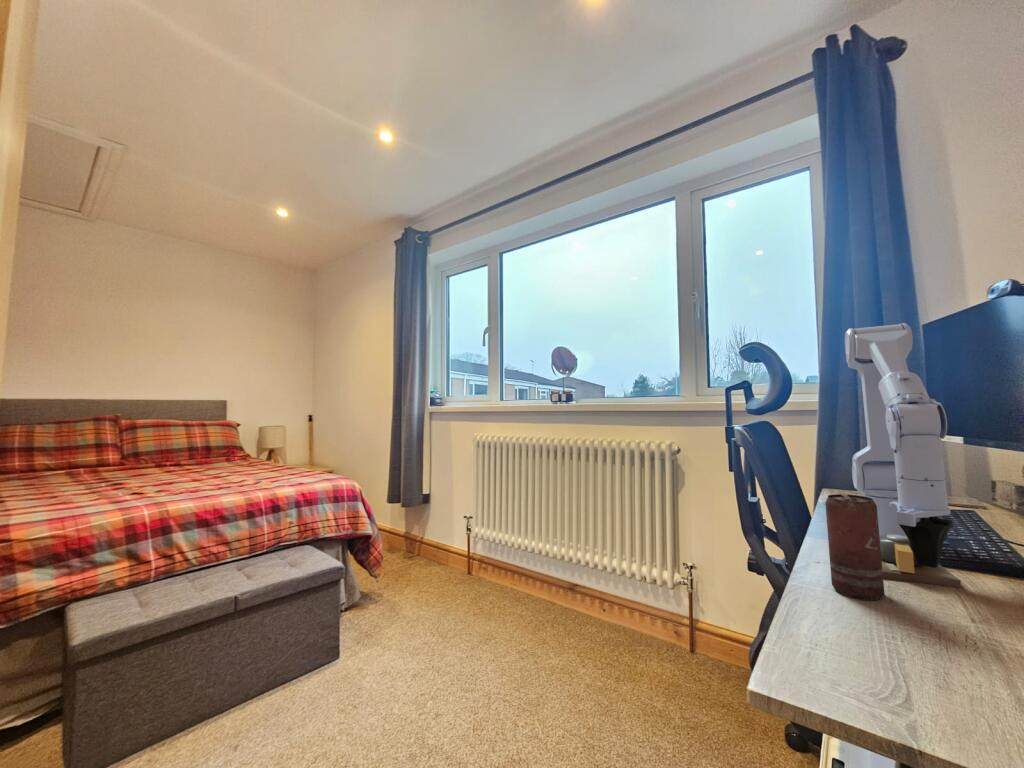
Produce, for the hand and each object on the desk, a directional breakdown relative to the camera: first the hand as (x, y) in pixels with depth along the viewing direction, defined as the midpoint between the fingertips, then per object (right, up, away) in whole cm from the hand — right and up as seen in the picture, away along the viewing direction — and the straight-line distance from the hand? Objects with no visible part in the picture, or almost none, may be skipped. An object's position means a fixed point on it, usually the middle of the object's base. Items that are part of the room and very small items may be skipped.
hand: (928, 565), depth 67 cm
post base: (+1, -3, +5) cm, 6 cm away
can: (-14, -3, -4) cm, 15 cm away
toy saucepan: (-1, -1, +4) cm, 4 cm away
